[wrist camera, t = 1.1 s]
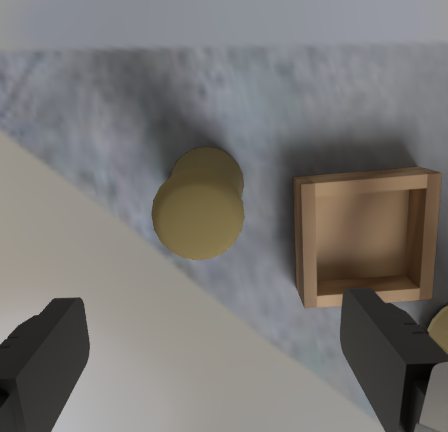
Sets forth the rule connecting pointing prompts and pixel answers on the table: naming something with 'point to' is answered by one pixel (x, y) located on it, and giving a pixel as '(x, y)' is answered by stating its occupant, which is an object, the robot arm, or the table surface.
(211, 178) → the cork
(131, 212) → the table surface
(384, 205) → the wooden tray
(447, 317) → the scroll
